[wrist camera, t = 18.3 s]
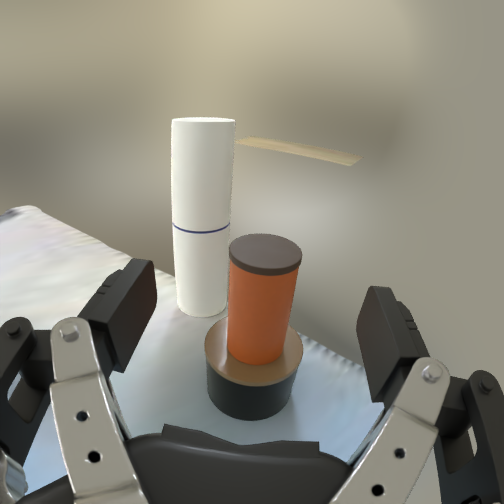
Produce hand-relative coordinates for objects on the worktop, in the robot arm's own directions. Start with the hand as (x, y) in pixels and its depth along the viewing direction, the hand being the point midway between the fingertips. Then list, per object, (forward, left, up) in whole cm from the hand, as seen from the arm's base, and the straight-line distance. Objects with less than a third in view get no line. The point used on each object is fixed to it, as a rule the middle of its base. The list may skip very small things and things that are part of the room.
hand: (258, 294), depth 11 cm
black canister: (-5, +10, -21) cm, 24 cm away
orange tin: (-5, +10, -14) cm, 18 cm away
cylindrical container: (-19, +18, -21) cm, 34 cm away
